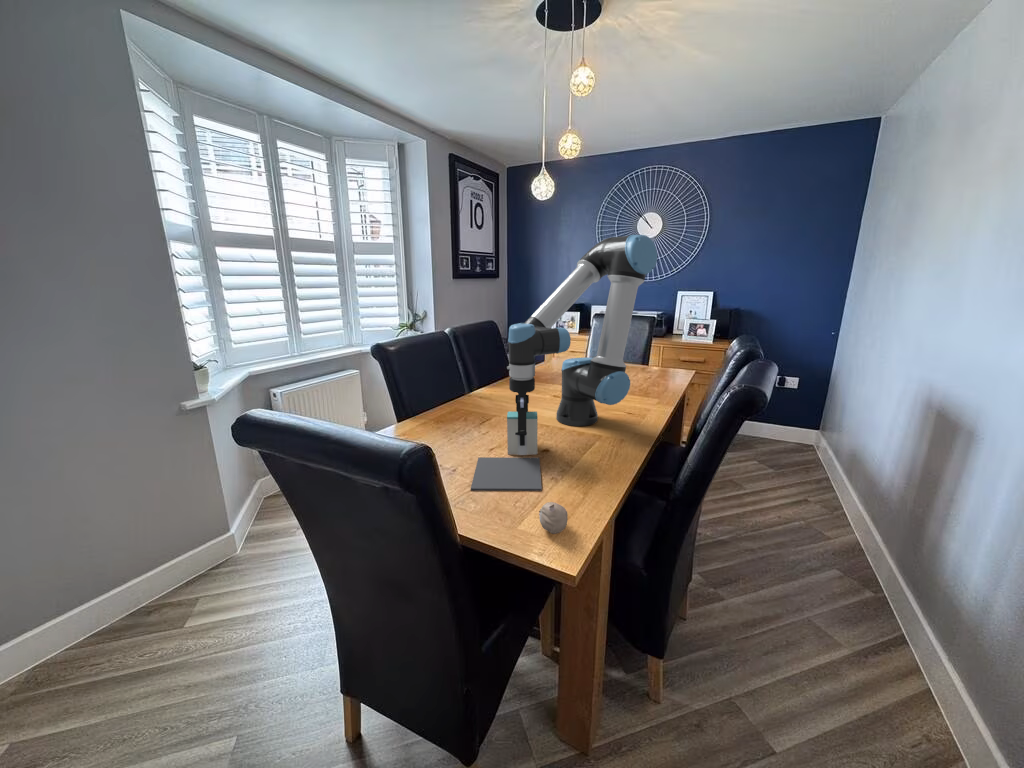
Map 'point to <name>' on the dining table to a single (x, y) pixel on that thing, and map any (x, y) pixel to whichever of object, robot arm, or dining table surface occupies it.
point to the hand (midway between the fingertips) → (522, 446)
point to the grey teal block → (530, 429)
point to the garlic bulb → (553, 517)
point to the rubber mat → (507, 474)
